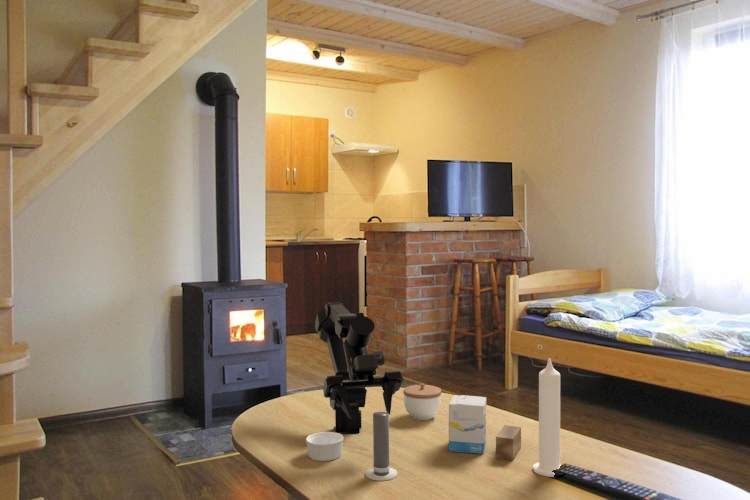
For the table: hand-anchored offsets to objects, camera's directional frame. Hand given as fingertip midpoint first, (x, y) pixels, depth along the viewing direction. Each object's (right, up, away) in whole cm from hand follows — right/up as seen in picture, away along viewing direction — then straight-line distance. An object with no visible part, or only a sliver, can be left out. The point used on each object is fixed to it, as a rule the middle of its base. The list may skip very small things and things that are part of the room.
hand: (370, 416), depth 145 cm
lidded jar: (+14, -9, +33) cm, 37 cm away
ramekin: (-11, -11, +4) cm, 16 cm away
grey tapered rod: (+2, -10, -8) cm, 13 cm away
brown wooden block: (+33, -10, +4) cm, 35 cm away
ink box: (+24, -10, +9) cm, 27 cm away
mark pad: (+2, -11, -8) cm, 13 cm away
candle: (+39, -10, -7) cm, 41 cm away
